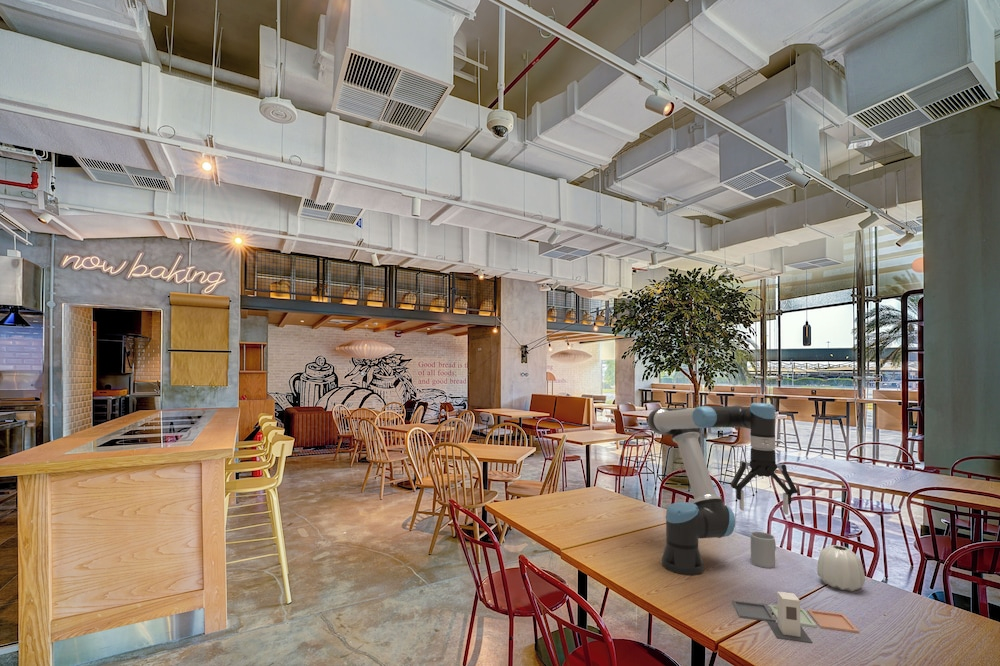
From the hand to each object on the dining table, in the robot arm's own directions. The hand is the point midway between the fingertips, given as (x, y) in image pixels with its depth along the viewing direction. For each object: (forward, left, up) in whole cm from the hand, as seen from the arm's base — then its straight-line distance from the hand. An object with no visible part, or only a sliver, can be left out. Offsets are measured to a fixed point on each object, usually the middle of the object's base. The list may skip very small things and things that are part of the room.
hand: (763, 511), depth 163 cm
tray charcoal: (-7, -13, -28) cm, 32 cm away
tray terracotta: (+15, -13, -28) cm, 35 cm away
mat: (0, -23, -28) cm, 36 cm away
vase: (+30, +17, -29) cm, 45 cm away
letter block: (0, -23, -28) cm, 36 cm away
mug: (+9, +32, -29) cm, 44 cm away
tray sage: (+4, -13, -28) cm, 31 cm away
